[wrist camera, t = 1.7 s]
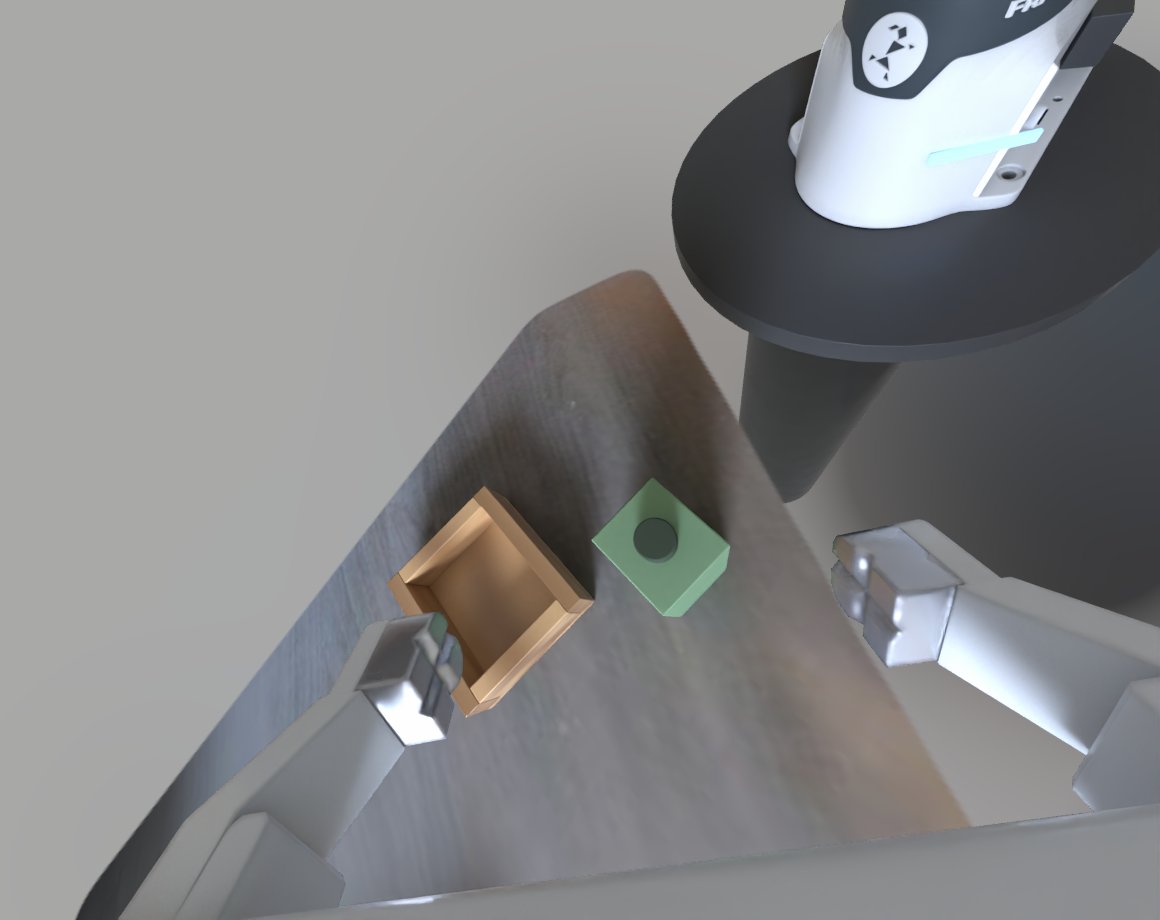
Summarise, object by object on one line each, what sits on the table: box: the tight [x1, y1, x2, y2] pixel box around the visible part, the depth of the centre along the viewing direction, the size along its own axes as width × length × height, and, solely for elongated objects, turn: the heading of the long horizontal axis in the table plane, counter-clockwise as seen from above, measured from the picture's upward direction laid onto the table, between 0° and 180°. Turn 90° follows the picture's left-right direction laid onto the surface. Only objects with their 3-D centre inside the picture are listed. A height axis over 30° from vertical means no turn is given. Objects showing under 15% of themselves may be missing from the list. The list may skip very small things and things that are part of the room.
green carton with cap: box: [592, 478, 730, 617], centre depth 24 cm, size 4×5×11 cm
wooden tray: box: [387, 486, 595, 718], centre depth 30 cm, size 10×11×4 cm
